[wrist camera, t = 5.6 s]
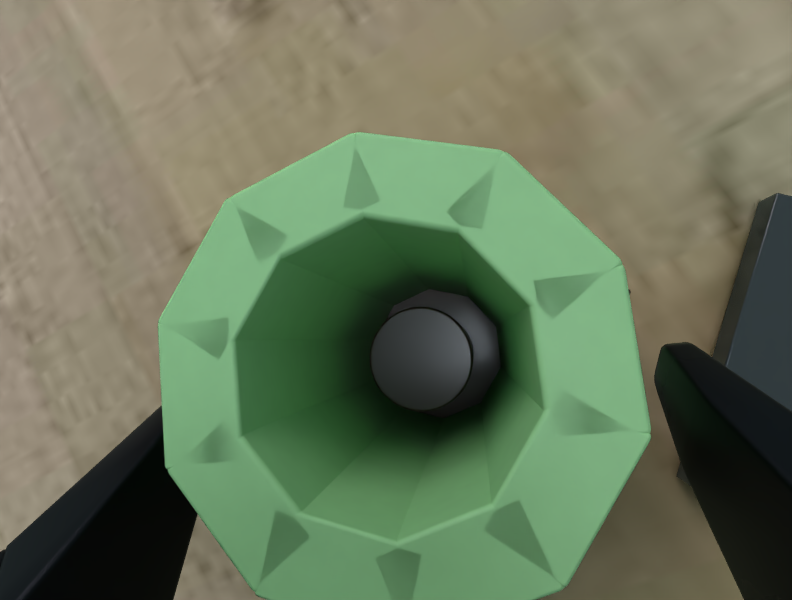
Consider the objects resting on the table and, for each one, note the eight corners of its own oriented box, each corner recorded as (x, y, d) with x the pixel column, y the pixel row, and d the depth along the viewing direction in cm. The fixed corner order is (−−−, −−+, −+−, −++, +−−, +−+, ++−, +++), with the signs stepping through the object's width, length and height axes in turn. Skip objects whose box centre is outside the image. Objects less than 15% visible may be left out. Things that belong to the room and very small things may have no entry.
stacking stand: (496, 518, 16) (513, 650, 9) (290, 398, 18) (177, 435, 11) (608, 297, 16) (707, 267, 9) (392, 198, 18) (340, 111, 11)
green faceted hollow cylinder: (522, 239, 15) (597, 84, 6) (552, 450, 14) (690, 649, 5) (333, 265, 16) (147, 168, 7) (352, 463, 15) (172, 647, 6)
